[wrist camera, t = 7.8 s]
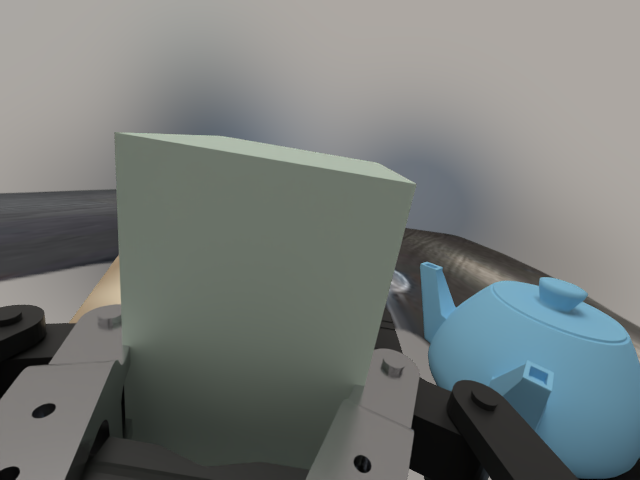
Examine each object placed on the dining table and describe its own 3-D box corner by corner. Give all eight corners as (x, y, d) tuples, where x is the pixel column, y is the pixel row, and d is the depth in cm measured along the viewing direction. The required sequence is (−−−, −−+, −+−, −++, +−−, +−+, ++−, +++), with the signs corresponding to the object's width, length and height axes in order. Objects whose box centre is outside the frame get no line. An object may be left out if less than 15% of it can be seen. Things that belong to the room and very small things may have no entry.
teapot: (712, 522, 19) (831, 375, 15) (477, 510, 17) (557, 341, 14) (531, 353, 33) (573, 259, 30) (395, 337, 31) (424, 236, 28)
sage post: (317, 444, 14) (377, 162, 10) (307, 608, 9) (416, 183, 5) (203, 424, 14) (221, 136, 10) (131, 578, 9) (113, 132, 5)
